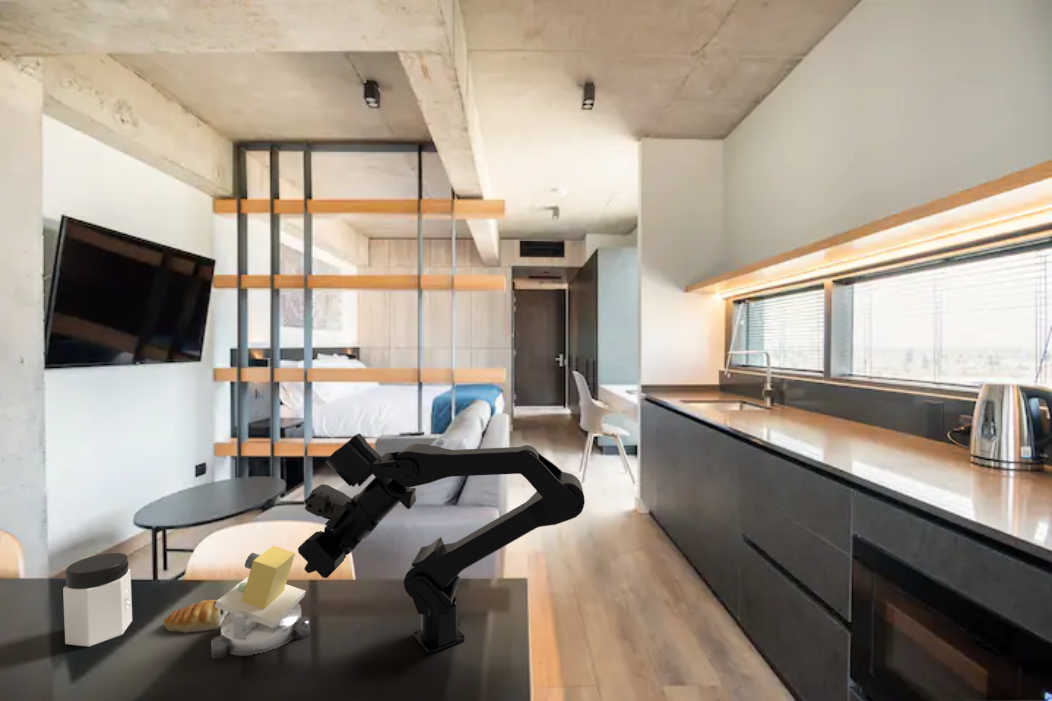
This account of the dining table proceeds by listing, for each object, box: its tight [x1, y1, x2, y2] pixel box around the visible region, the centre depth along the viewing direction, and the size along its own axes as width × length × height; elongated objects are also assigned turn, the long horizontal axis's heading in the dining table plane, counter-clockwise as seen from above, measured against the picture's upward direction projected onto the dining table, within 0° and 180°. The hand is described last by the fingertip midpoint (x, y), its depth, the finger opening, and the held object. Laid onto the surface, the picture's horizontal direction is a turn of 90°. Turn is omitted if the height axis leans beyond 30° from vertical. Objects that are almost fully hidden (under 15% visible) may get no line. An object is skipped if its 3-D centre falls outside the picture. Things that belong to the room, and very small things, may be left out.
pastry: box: [162, 599, 229, 633], centre depth 92 cm, size 9×7×4 cm
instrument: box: [215, 545, 306, 628], centre depth 88 cm, size 10×11×8 cm
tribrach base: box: [210, 602, 311, 660], centre depth 88 cm, size 14×14×6 cm
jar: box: [62, 552, 133, 647], centre depth 89 cm, size 9×8×12 cm
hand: (307, 570), depth 88 cm, fingers closed
